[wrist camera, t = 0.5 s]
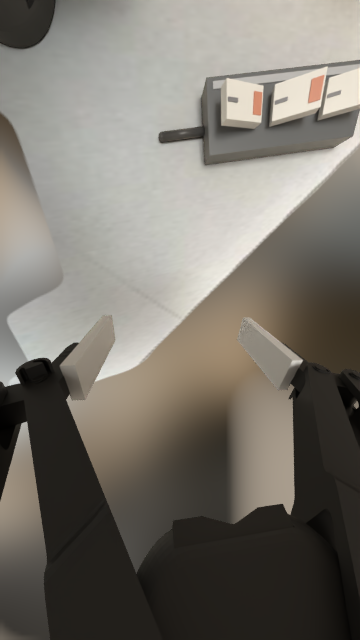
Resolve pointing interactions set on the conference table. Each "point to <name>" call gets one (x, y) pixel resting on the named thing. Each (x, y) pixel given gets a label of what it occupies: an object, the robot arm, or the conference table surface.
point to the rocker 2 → (297, 97)
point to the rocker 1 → (241, 104)
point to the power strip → (266, 121)
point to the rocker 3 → (340, 94)
